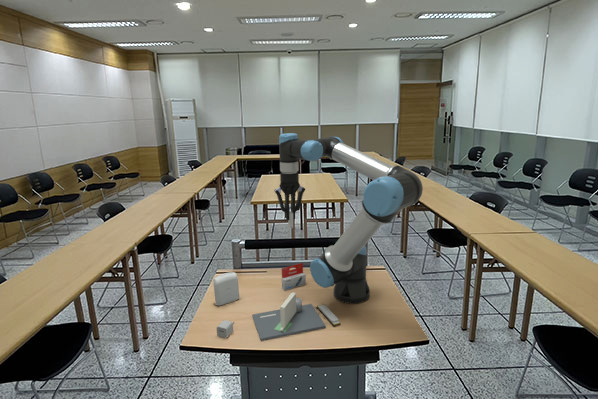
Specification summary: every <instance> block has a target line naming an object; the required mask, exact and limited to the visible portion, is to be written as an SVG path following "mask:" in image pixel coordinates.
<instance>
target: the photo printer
mask: <svg viewBox="0 0 598 399" xmlns="http://www.w3.org/2000/svg"><path fill="white" fill-rule="evenodd" d="M212 282H213V292H214V300H215V303H214V304H215V305H216V306H223V305H226V304H229V303H233V302H235V301H237V300H239V299H240V291H239V287H240V286H239V278H238V275H237V273H236V272H233V271H232V272H226V273H222V274H219V275H217V276H216V277H214V278H213V281H212Z"/></svg>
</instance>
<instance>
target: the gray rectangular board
mask: <svg viewBox="0 0 598 399" xmlns="http://www.w3.org/2000/svg"><path fill="white" fill-rule="evenodd" d="M251 315H252V319H253V323H254V326H255V328H256V331H257V334H258V337H259V341H260V342H263V341H264V340H265V341H268V340H274V339H279V338H283V337H289V336H294V335H299V334H303V333H307V332H313V331H318V330H323V329H326V328H327V326H326V323H325V322H324V320H323V319H322V317H321V315H319V313H318V311H317V310H316V307H314V305H313V304H312V303H308V304H307V303H306V304H302V311H300V312H296V313H295V314H294V316H293V317H292V319H291V320H290V321H289V323H288V324H287V326H286V327H285V328H284V330H283V331H280V329H281V328H282V327H281V315H280V308H279V309H274V310H269V311H264V312H260V313H259V312H258V313H253V314H251Z"/></svg>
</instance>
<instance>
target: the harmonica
mask: <svg viewBox="0 0 598 399" xmlns="http://www.w3.org/2000/svg"><path fill="white" fill-rule="evenodd" d="M315 309H317V310H318V311H319V313H320V314H321V315H322V316H323V317H324V318H325V319H326V321H328V323H329V324H330V325H331V327H333V328H336V327H339V326H341V325H342V323H341V321H340V320H339V318H338V317H337V316H336V315H335V314H334V313H333V311H331V310H330V309H329V307H328V306H327V305H325V304H319V305H316V306H315Z"/></svg>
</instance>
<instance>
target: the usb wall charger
mask: <svg viewBox="0 0 598 399" xmlns="http://www.w3.org/2000/svg"><path fill="white" fill-rule="evenodd" d="M234 324H235V321H233V322H232V321H230V320H226V319H224V320H222V321H221V323H219V324H218V325H217V326H216V335H217V337H219V338H224V339H227V338H228V337H229V336H230V334H232V332H233V331H234Z"/></svg>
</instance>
